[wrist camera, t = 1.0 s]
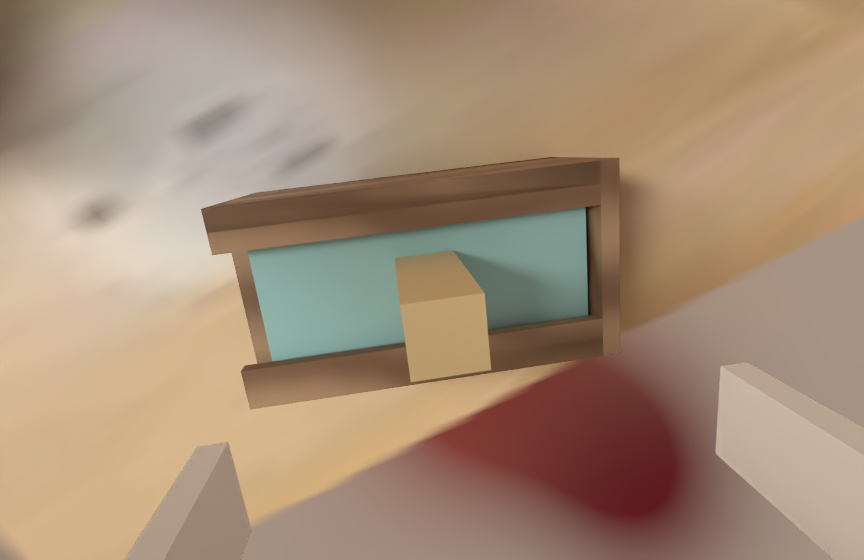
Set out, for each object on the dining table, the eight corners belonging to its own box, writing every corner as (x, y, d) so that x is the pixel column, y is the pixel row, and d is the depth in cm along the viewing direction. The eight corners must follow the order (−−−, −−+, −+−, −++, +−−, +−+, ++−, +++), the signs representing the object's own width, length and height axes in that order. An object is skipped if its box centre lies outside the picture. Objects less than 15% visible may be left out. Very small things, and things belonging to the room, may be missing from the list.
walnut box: (255, 192, 35) (200, 209, 25) (551, 157, 37) (619, 158, 26) (286, 339, 38) (250, 409, 28) (557, 300, 40) (620, 353, 29)
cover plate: (252, 228, 28) (175, 271, 18) (573, 188, 29) (677, 206, 19) (280, 358, 30) (227, 464, 20) (577, 315, 32) (671, 393, 21)
